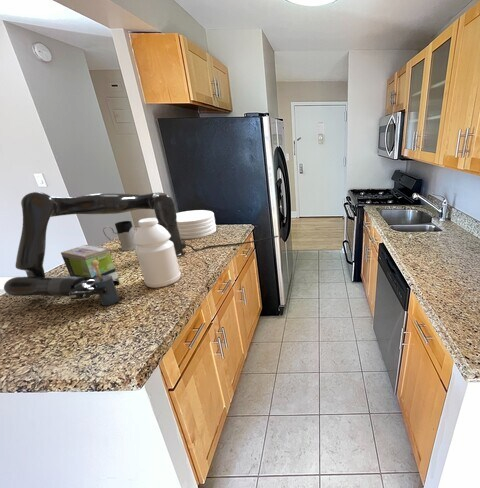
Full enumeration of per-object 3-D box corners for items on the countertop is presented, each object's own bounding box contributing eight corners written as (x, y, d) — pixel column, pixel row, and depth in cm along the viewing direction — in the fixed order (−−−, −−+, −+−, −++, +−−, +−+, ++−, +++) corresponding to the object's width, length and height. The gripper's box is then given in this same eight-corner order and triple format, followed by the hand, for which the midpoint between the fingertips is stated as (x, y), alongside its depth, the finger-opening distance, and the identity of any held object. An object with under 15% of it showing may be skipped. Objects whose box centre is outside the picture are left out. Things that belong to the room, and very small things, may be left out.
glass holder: (138, 248, 149) (131, 223, 143) (107, 253, 143) (98, 227, 137) (140, 243, 156) (133, 219, 150) (111, 247, 150) (103, 223, 144)
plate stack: (188, 224, 191) (185, 209, 186) (223, 226, 187) (221, 210, 183) (160, 238, 165) (156, 220, 161) (201, 240, 161) (198, 222, 157)
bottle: (143, 291, 107) (123, 226, 96) (146, 276, 118) (129, 217, 108) (181, 283, 113) (166, 221, 102) (181, 270, 124) (168, 213, 114)
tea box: (119, 277, 117) (109, 247, 112) (95, 289, 108) (82, 256, 103) (97, 272, 122) (86, 243, 116) (71, 283, 113) (58, 252, 108)
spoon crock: (121, 296, 103) (107, 255, 97) (118, 303, 99) (103, 261, 92) (104, 299, 101) (88, 258, 95) (100, 306, 97) (83, 264, 90)
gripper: (45, 288, 90) (93, 288, 90) (81, 268, 103) (123, 269, 103) (53, 306, 93) (100, 306, 92) (88, 285, 106) (129, 285, 106)
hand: (112, 286), depth 98 cm, fingers closed on spoon crock, 5 cm apart
